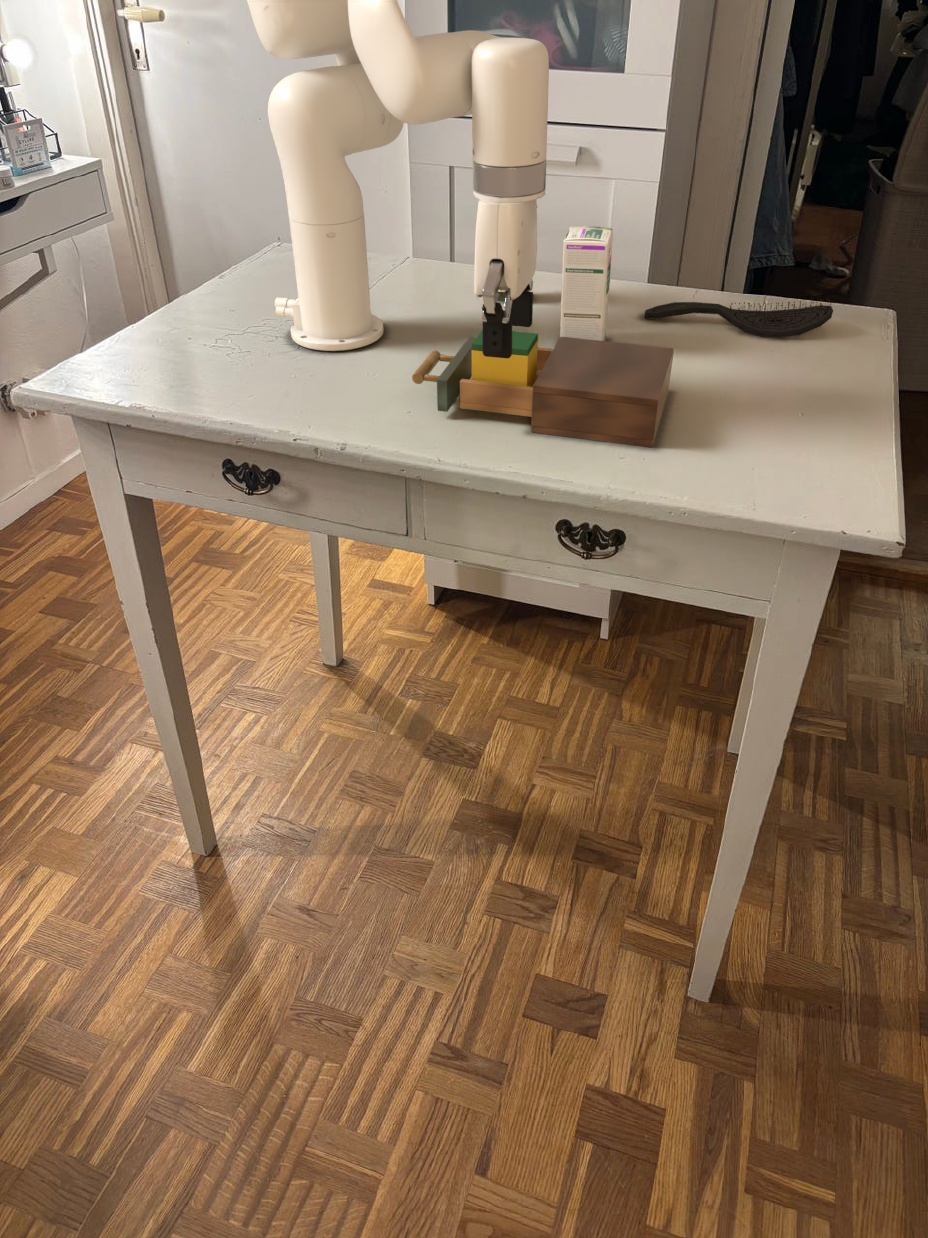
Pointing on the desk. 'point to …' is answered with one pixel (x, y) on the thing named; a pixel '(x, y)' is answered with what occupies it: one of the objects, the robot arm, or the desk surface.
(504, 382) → the sponge
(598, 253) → the syrup box
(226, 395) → the desk surface
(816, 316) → the hairbrush
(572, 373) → the drawer unit
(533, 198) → the robot arm
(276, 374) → the desk surface
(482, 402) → the drawer
